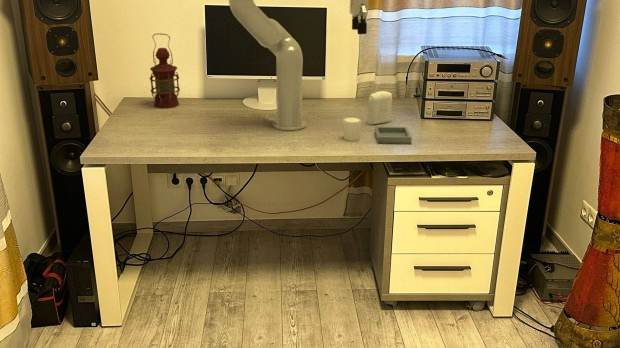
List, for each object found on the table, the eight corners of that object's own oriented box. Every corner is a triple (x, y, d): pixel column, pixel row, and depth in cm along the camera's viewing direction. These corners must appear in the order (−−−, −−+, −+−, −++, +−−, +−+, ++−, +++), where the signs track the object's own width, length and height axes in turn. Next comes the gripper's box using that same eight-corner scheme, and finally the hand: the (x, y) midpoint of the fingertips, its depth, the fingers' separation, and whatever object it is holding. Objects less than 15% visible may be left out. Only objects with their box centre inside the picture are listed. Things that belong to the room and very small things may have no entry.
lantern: (185, 102, 274) (181, 31, 262) (173, 110, 263) (168, 36, 251) (159, 100, 276) (153, 30, 265) (146, 107, 265) (140, 35, 254)
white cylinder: (355, 142, 228) (355, 123, 225) (338, 138, 231) (339, 120, 228) (364, 137, 233) (364, 118, 230) (347, 133, 236) (348, 115, 234)
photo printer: (385, 118, 254) (387, 88, 250) (392, 121, 251) (394, 91, 246) (365, 123, 249) (366, 92, 244) (372, 125, 246) (373, 94, 241)
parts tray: (377, 143, 226) (377, 137, 225) (374, 133, 238) (374, 126, 237) (411, 144, 226) (411, 137, 226) (406, 133, 238) (406, 127, 237)
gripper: (345, -19, 234) (344, 28, 240) (354, -15, 218) (353, 36, 224) (365, -20, 235) (363, 27, 241) (376, -15, 219) (374, 35, 225)
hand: (359, 31), depth 233 cm, fingers open, 9 cm apart
